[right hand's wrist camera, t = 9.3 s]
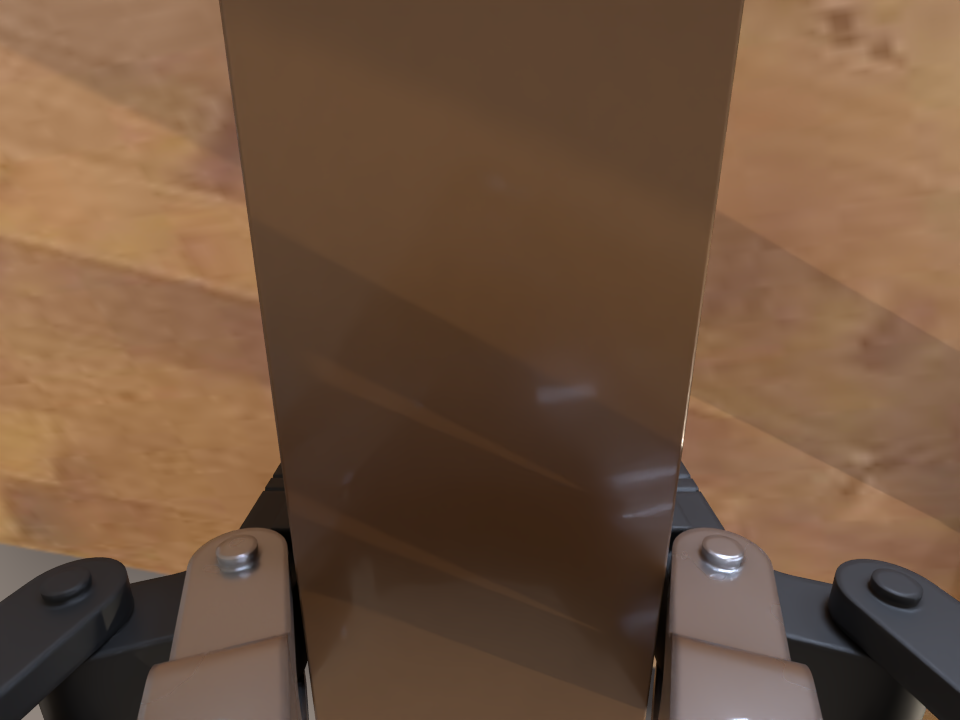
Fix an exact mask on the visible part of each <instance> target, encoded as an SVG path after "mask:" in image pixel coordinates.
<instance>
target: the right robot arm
mask: <svg viewBox="0 0 960 720" xmlns="http://www.w3.org/2000/svg"><path fill="white" fill-rule="evenodd" d="M654 655H655V658H656V661H657V662H656V669H655V677H654V685H653V700H652V714H651V720H922V719H923V716H924V713H925V710H926V708H927V709H928V710H929V711H930V712H931V713H932V714H933V715H935V716H936V717H937V718H938V719H939V720H960V602H959V601H957V600H956V599H955V598H953V597H952V596H950V595H949V594H947V593H946V592H945V591H943V590H942V589H940V588H939V587H938V586H936V585H935V584H933V583H932V582H930V581H929V580H927V579H926V578H924V577H922V576H920V575H918V574H916V573H915V572H912V571H910V570H908V569H906V568H903V567H900V566H897V565H894V564H891V563H887V562H883V561H878V560H870V559H856V560H850V561H847V562H844V563H843V564H841V565H840V566H839V567H838V568H837V571H836V573H835V577H834V581H833V584H830V583H825V582H820V581H816V580H811V579H806V578H801V577H797V576H792V575H788V574H784V573H781V572H778V571H775V570H773V566H772V563H771V561H770V559H769V557H768V556H767V555H766V553H765V552H764V551H763V550H762V549H761V548H760V547H758V546H757V545H756V544H754V543H753V542H751V541H750V540H748V539H746V538H744V537H742V536H740V535H738V534H735V533H732V532H729V531H726V530H725V529H724V528H723V526H722V525H721V523H720V521H719V520H718V518H717V517H716V515H715V514H714V512H713V510H712V509H711V507H710V506H709V504H708V503H707V501H706V499H705V498H704V496H703V495H702V493H701V492H699V490H698V487H697V485H696V484H695V482H694V480H693V479H691V478H690V474H689V473H688V471H687V469H686V468H685V466H684V465H683V463H682V462H681V464H680V471H679V479H678V486H677V493H676V500H675V508H674V515H673V522H672V529H671V537H670V544H669V551H668V558H667V566H666V573H665V580H664V588H663V595H662V602H661V609H660V617H659V624H658V631H657V638H656V646H655V653H654ZM307 661H308V659H307V651H306V644H305V637H304V629H303V622H302V614H301V607H300V599H299V592H298V584H297V577H296V570H295V562H294V555H293V547H292V540H291V532H290V525H289V518H288V510H287V503H286V495H285V488H284V480H283V473H282V465H281V463H280V465H279V466H278V468H277V470H276V471H275V473H274V474H273V478H271V479H270V481H269V482H268V484H267V486H266V487H265V491H263V492H262V494H261V495H260V497H259V498H258V500H257V502H256V503H255V505H254V506H253V508H252V510H251V511H250V513H249V514H248V516H247V518H246V519H245V521H244V523H243V524H242V526H241V527H240V529H239V530H234V531H231V532H228V533H225V534H222V535H220V536H218V537H216V538H214V539H212V540H210V541H209V542H207V543H206V544H204V545H203V546H202V547H200V548H199V549H198V550H197V551H196V552H195V553H194V555H193V556H192V557H191V559H190V561H189V563H188V566H187V571H184V572H181V573H177V574H173V575H168V576H164V577H159V578H154V579H150V580H145V581H140V582H136V583H131V584H130V582H129V579H128V575H127V571H126V568H125V566H124V565H123V564H122V563H121V562H119V561H117V560H114V559H111V558H104V557H95V558H86V559H81V560H76V561H73V562H69V563H66V564H63V565H60V566H58V567H55V568H53V569H51V570H49V571H46V572H45V573H43V574H41V575H39V576H37V577H36V578H34V579H33V580H31V581H30V582H28V583H27V584H25V585H24V586H22V587H21V588H20V589H18V590H17V591H15V592H14V593H13V594H11V595H10V596H8V597H7V598H5V599H4V600H3V601H1V602H0V720H21V719H22V718H23V717H24V716H26V715H27V714H28V713H29V712H30V711H31V710H32V709H33V708H34V707H35V706H36V705H37V704H39V706H40V709H41V712H42V715H43V717H44V720H309V714H308V699H307V685H306V676H305V667H306V664H307Z"/></svg>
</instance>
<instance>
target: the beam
mask: <svg viewBox="0 0 960 720" xmlns="http://www.w3.org/2000/svg"><path fill="white" fill-rule="evenodd" d="M219 4H220V12H221V19H222V27H223V34H224V42H225V49H226V56H227V64H228V71H229V79H230V86H231V94H232V101H233V108H234V116H235V123H236V131H237V138H238V146H239V153H240V161H241V168H242V175H243V183H244V190H245V198H246V205H247V213H248V220H249V227H250V235H251V242H252V250H253V257H254V265H255V272H256V280H257V287H258V294H259V302H260V309H261V317H262V324H263V332H264V339H265V346H266V354H267V361H268V369H269V376H270V384H271V391H272V399H273V406H274V413H275V421H276V428H277V436H278V443H279V451H280V458H281V465H282V473H283V480H284V488H285V495H286V503H287V510H288V518H289V525H290V532H291V540H292V547H293V555H294V562H295V570H296V577H297V584H298V592H299V599H300V607H301V614H302V622H303V629H304V637H305V644H306V651H307V659H308V666H309V674H310V681H311V688H312V696H313V703H314V711H315V718H316V720H645V718H646V711H647V704H648V696H649V689H650V682H651V675H652V667H653V660H654V653H655V646H656V638H657V631H658V624H659V617H660V609H661V602H662V595H663V588H664V580H665V573H666V566H667V558H668V551H669V544H670V537H671V529H672V522H673V515H674V508H675V500H676V493H677V486H678V479H679V471H680V464H681V457H682V449H683V442H684V435H685V428H686V420H687V413H688V406H689V399H690V391H691V384H692V377H693V370H694V362H695V355H696V348H697V340H698V333H699V326H700V319H701V311H702V304H703V297H704V290H705V282H706V275H707V268H708V261H709V253H710V246H711V239H712V231H713V224H714V217H715V210H716V202H717V195H718V188H719V181H720V173H721V166H722V159H723V152H724V144H725V137H726V130H727V122H728V115H729V108H730V101H731V93H732V86H733V79H734V72H735V64H736V57H737V50H738V43H739V35H740V28H741V21H742V13H743V6H744V0H219Z"/></svg>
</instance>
